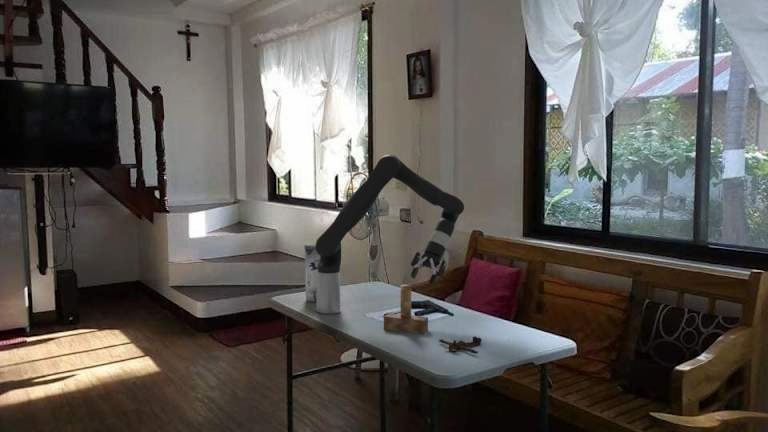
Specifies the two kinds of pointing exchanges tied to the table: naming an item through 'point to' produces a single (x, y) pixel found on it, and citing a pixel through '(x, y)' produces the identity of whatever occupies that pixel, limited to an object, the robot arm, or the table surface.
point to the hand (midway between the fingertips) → (421, 280)
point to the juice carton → (311, 272)
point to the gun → (428, 307)
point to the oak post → (405, 301)
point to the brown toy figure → (462, 345)
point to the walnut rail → (406, 323)
